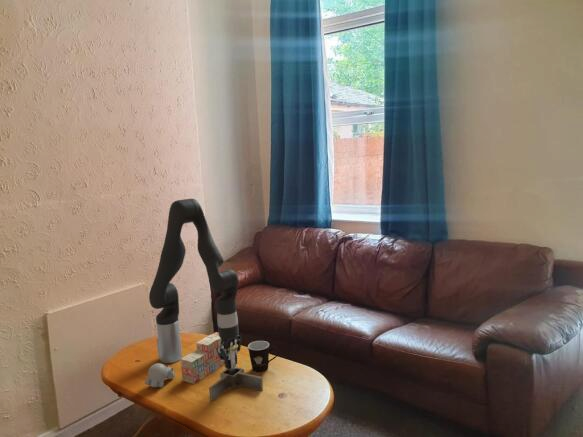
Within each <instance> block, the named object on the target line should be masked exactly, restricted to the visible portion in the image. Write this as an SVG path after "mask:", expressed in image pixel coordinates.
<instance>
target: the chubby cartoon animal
mask: <svg viewBox="0 0 583 437" xmlns="http://www.w3.org/2000/svg"><path fill="white" fill-rule="evenodd" d="M175 375H176V370H174V367H170V364H169V365H167V366H166V365H165V364H164V363H162V362H161V363H158V362H157V363H154V364H152V365H151V366H150V367H149V369H148V370H147V378H146V379H145V381H144V384H145V385H146V386H150V387H151V388H164V385H165V383H164V381H165V380H166V379H168V380H170V381H171V380H174V378H175Z"/></svg>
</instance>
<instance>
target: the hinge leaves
mask: <svg viewBox="0 0 583 437" xmlns="http://www.w3.org/2000/svg"><path fill="white" fill-rule="evenodd" d="M219 377H220V378H219V379H218V380H217V381H216V382H214V383H213V384H212V385H210V387H209V388H208V391H209V392H208V393H209V401H210V402H214V401H215V400H216V399H217V398H219V396H221V395H222V394H224V392H226V391H227V390H228V389H234V390H236V389H237V388H238V387H243V388H247V389H251V390H255V391H260V392H263V390H264V389H263V387H264V384H263V377H262V376H259V375H253V374H249V373H245V370H244V368H243V367H241V368H240V367H237V366H236V374H234V375H230V374H228V369H227V368H225V369H224V370H223V371H222V372H220V374H219Z"/></svg>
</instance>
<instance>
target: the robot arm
mask: <svg viewBox="0 0 583 437" xmlns="http://www.w3.org/2000/svg"><path fill="white" fill-rule="evenodd" d="M204 213H205V212H204V210H203V208H202V206H201V204H200V203H199V201H198V200H197V199H195V198H185V199H178V200H175V201H173V202H172V203H171V204H170V208H169V212H168V217H167V218H168V219H167V228H166V233H165V237H164V242H163V245H162V246H163V247H162V249H161V253H160V256H159V257H160V258H159V263H158V266H157V270H156V274H155V277H154V279H153V282H152V285H151V287H150V291H149V293H148V294H149V296H148V301H149V303H150V307H152V308H154V309H155V310H159V309H161V311H160V312H159V313H158V314H156V316H155V323H156V330H157V338H156V348H157V355H158V360H159V361H160V362H161V363H162V364H173V363H176V362H179V361H181V359H182V358H183V351H182V342H181V332H180V331H181V330H180V329H181V328H180V322H179V321H180V320H179V315H180V301H179V292H178V289H177V287H176V286H175V284H173V283H171V282H172V280H173V278H174V277H175V276H176V275H177V274H178V272H179V271H180V269H181V268H182V266H183V264H184V260H185V257H186V250H187V249H186V246H185V243H184V241H183V239H182V237H181V236H182V235H181V233H182V229H183V226H184V225H185V224H189V223H192V224H193V225H194V227H195V228H196V231H197V251H198V255H199V256H200V258H201V260H202V262H203V265H204V266H205V269H206V274H207V279H208V283H209V286H210V288H211V289H212V290H213V291H214V292H216V293H222V294H221V295H220V296H219V297H217V299H216V311H217V312H216V313H217V317H216V318H217V319H216V320H217V330H218V333H219V337H220V338H221V345H220V347H219V348H218V347H217V348H216V351H217V353H218V355H219V357H220V359H221V360H225V364H224V367H225V369H231V359H230V357H231V353H232V351H230V348H231V347H232V346H233V345H236V344H237V348H236V349H235V361H236V365H237V364H238V354H239V353H238V352H240V351H241V347H242V340H243V335H239V334H240V332H239V320H238V319H239V318H238V313H237V304H236V298H237V293H238V287H239V276H238V274H237V272H236V271H235V270H233V269H230V268H229V269H225V270H223V271H219V268H220V267H221V266H222V265H224V262H225V261H224V258H223V256H222V254H221V252H220V251H219V248H218V246H217V245H216V243H215V241H214V239H213V236H212V234H211V230H210V228H209V225H208V222H207V219H206V216H205V214H204ZM228 348H229V351H225V350H224V349H226V350H228ZM226 354H228V356H226Z"/></svg>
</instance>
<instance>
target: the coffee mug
mask: <svg viewBox="0 0 583 437" xmlns="http://www.w3.org/2000/svg"><path fill="white" fill-rule="evenodd" d="M247 349H248V355H249V359H250V365H251V370H252V371H253V373H264V372H267V371H268V370H269V364H270V363H271V361H273V360H275V359H276V358H277V357H278V356H279V354H280V350H279V349H278V348H277V347H274V346H273V347H271V348H270V343H269V341H265V340H256V341H251V342H250V343H249V344H248V345H247ZM272 350H275V351H277V353H276V354H275V356H273V357H272V358H270V355H269V354H270V353H271V351H272ZM269 358H270V359H269Z"/></svg>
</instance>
